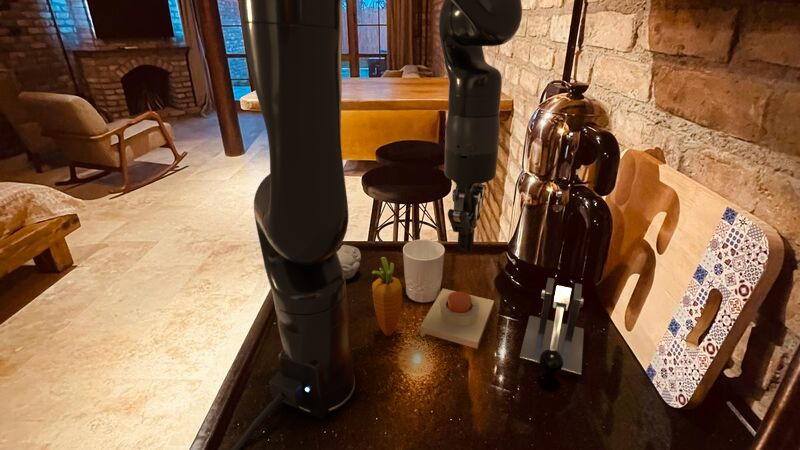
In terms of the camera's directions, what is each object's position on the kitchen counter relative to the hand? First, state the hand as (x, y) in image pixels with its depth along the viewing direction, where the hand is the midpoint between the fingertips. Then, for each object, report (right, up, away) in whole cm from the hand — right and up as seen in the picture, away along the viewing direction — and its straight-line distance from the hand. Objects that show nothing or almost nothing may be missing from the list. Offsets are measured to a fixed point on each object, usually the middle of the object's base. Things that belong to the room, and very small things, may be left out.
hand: (465, 249), depth 66 cm
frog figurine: (-22, -7, +21) cm, 31 cm away
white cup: (-6, -10, +15) cm, 19 cm away
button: (0, -10, +6) cm, 12 cm away
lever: (+13, -12, -4) cm, 18 cm away
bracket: (+15, -16, +1) cm, 22 cm away
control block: (0, -14, +7) cm, 15 cm away
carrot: (-12, -15, +4) cm, 20 cm away
